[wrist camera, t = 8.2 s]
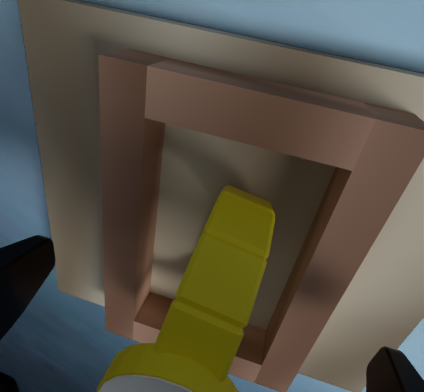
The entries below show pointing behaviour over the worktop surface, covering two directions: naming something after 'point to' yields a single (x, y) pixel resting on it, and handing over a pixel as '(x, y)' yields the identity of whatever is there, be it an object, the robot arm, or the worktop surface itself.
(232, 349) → the watch
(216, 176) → the wooden framed tray
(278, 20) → the worktop surface
